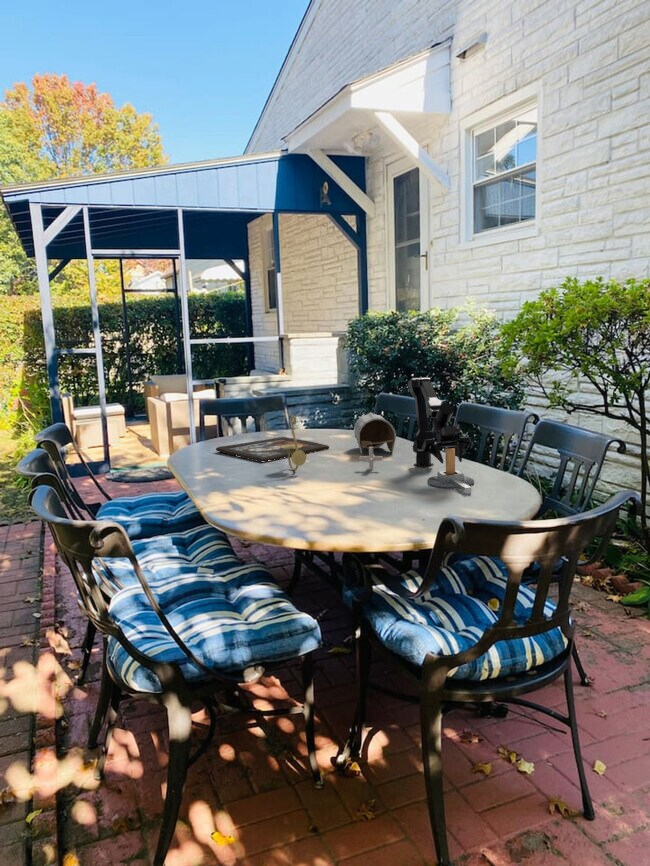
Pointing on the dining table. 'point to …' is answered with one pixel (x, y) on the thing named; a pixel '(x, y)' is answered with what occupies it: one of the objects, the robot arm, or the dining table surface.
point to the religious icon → (269, 448)
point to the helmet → (374, 432)
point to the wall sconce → (297, 456)
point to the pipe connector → (371, 458)
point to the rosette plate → (452, 481)
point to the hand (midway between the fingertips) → (451, 462)
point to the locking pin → (450, 461)
